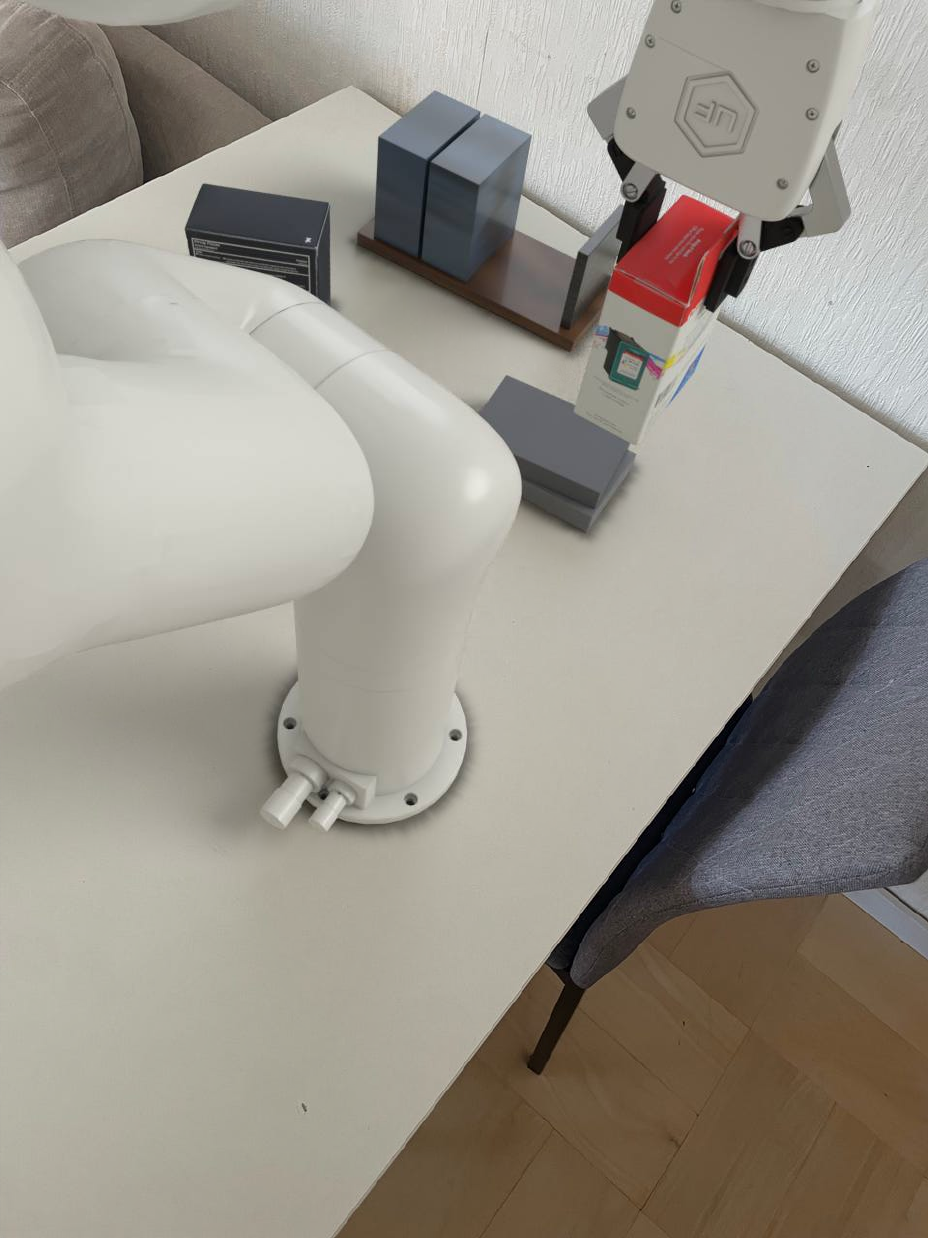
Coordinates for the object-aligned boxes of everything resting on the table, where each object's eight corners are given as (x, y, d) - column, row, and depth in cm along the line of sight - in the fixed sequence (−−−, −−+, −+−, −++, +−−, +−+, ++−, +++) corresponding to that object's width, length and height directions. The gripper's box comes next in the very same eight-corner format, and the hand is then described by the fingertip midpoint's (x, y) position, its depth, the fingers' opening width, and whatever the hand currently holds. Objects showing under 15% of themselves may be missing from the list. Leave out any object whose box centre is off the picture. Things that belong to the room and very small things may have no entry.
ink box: (632, 340, 69) (697, 143, 57) (696, 374, 68) (776, 181, 56) (569, 414, 65) (624, 218, 53) (636, 451, 64) (708, 261, 52)
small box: (333, 301, 91) (333, 198, 82) (320, 352, 87) (319, 250, 78) (214, 282, 90) (202, 177, 81) (197, 333, 87) (182, 228, 78)
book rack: (570, 352, 91) (599, 247, 81) (356, 243, 95) (359, 131, 86) (620, 291, 96) (652, 186, 86) (414, 191, 100) (423, 80, 91)
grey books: (585, 534, 80) (596, 503, 77) (453, 462, 82) (459, 429, 79) (631, 468, 84) (644, 435, 81) (505, 401, 87) (512, 367, 83)
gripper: (578, -113, 43) (515, 244, 58) (956, 45, 39) (783, 382, 55) (658, -170, 47) (579, 181, 62) (1011, -29, 43) (834, 306, 59)
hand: (676, 273), depth 58 cm, fingers closed on ink box, 5 cm apart
